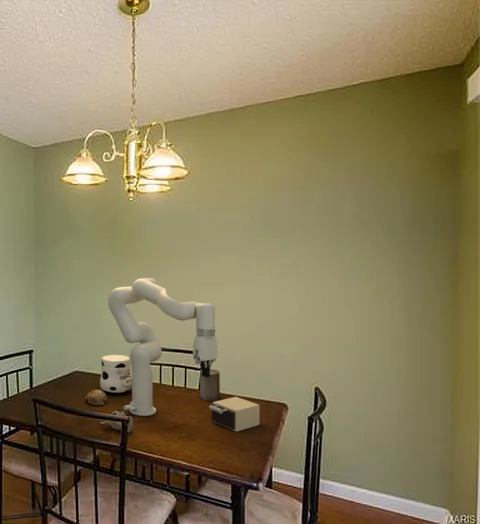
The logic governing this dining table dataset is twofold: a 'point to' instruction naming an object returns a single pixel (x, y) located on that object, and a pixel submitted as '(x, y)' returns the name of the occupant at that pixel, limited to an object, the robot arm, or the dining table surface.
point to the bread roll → (96, 397)
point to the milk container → (116, 374)
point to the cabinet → (241, 412)
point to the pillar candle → (210, 386)
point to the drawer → (223, 416)
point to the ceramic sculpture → (116, 424)
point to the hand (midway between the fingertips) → (205, 376)
